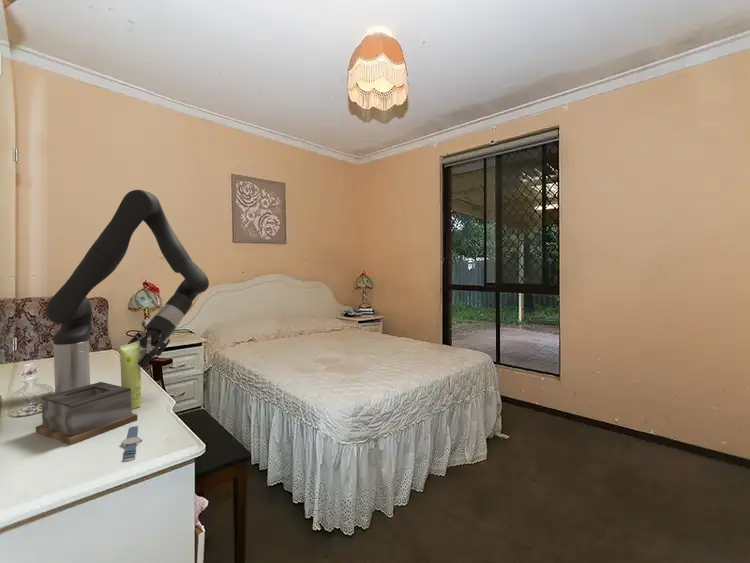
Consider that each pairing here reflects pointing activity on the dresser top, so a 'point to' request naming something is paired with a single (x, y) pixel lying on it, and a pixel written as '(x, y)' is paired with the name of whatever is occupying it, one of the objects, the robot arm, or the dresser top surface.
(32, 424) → the dresser top surface
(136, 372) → the tube
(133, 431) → the wristwatch
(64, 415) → the socket
